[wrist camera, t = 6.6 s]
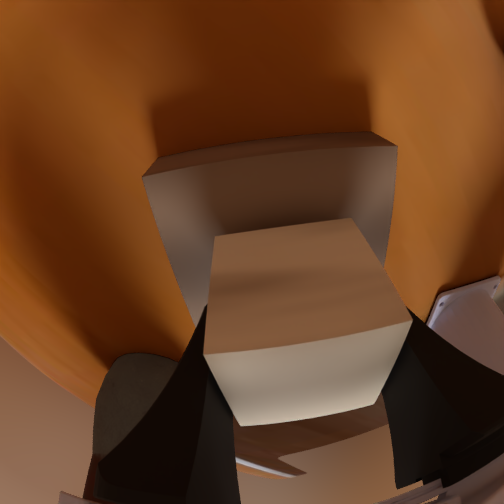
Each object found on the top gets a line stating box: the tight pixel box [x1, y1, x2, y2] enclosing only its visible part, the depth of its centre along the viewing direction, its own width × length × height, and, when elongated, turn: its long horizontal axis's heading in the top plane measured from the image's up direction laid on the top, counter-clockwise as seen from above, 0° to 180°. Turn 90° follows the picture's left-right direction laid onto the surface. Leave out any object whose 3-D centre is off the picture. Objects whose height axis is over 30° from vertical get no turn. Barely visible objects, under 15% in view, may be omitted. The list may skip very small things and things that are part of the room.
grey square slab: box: [142, 132, 398, 327], centre depth 14 cm, size 10×10×3 cm
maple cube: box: [203, 218, 413, 426], centre depth 9 cm, size 5×5×5 cm
